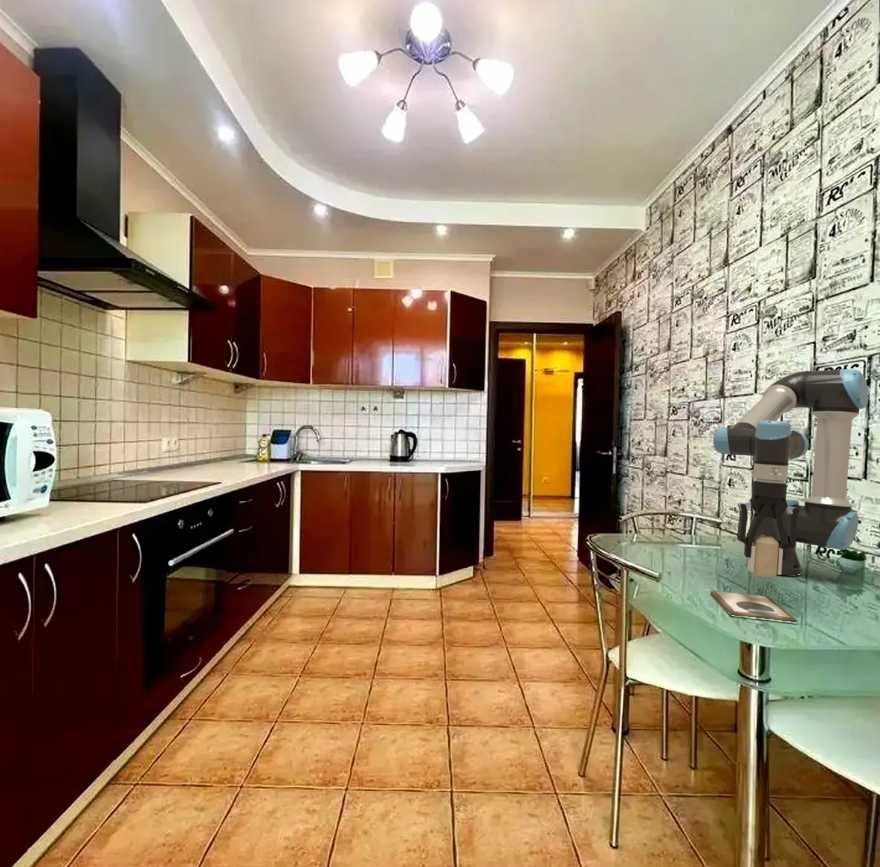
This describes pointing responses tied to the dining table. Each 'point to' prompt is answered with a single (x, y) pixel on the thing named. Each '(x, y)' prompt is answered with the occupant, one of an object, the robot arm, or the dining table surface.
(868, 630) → the dining table surface
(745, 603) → the brown tray
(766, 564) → the candle
